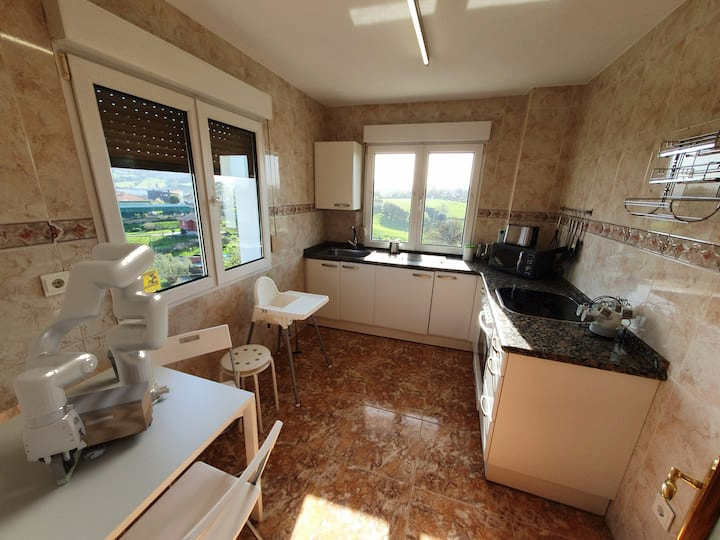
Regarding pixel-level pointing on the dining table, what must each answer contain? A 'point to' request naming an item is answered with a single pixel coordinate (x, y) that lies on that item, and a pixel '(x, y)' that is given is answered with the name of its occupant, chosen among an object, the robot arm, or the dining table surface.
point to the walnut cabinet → (114, 412)
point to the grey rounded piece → (94, 451)
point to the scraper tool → (62, 467)
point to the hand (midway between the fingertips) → (64, 469)
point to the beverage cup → (113, 363)
